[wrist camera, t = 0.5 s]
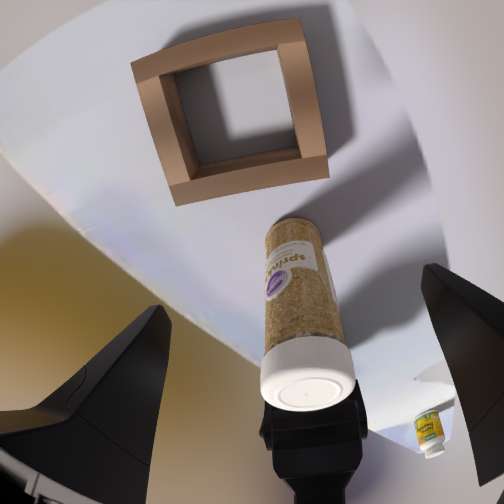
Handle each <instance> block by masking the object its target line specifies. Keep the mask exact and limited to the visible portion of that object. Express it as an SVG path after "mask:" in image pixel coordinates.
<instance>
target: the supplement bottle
mask: <svg viewBox="0 0 504 504" xmlns="http://www.w3.org/2000/svg"><path fill="white" fill-rule="evenodd" d="M414 425H415V429H416V433H417V437H418V441H419V446H420V449H421V450H424V451H426V452H425V457H426V459H428V458H432V457H435V456H437V455H439V454H441V453H443V452H444V451H445V449H444V446H443V445H442V443H443V442H444V440H445V435H444V432H443V428H442V425H441V421H440V418H439V415H438V411H437V410H435V409H432V410H428V411H425V412H423V413H421V414H419V415H418V416H417V417H416V418H415V419H414Z"/></svg>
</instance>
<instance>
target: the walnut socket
mask: <svg viewBox="0 0 504 504" xmlns="http://www.w3.org/2000/svg"><path fill="white" fill-rule="evenodd" d="M271 50H277V53H278V57H279V61H280V65H281V69H282V74H283V78H284V83H285V87H286V92H287V97H288V101H289V106H290V111H291V116H292V121H293V126H294V131H295V136H296V142H297V147H293V148H287V149H281V150H275V151H270V152H264V153H259V154H254V155H249V156H244V157H239V158H234V159H230V160H225V161H221V162H216V163H212V164H208V165H204V166H200V165H199V162H198V158H197V155H196V151H195V148H194V145H193V141H192V138H191V135H190V131H189V128H188V124H187V121H186V117H185V114H184V110H183V107H182V103H181V100H180V96H179V93H178V89H177V86H176V82H175V78H174V75H175V74H178V73H181V72H185V71H188V70H191V69H194V68H198V67H201V66H205V65H208V64H212V63H216V62H220V61H224V60H228V59H232V58H236V57H241V56H245V55H250V54H255V53H260V52H265V51H271ZM130 64H131V67H132V71H133V75H134V78H135V82H136V85H137V89H138V92H139V95H140V99H141V102H142V106H143V109H144V112H145V115H146V119H147V122H148V125H149V128H150V131H151V135H152V138H153V141H154V144H155V147H156V150H157V153H158V156H159V159H160V162H161V165H162V168H163V171H164V174H165V177H166V180H167V183H168V186H169V188H170V191H171V194H172V197H173V200H174V202H175V205H176V206H180V205H185V204H189V203H194V202H198V201H203V200H208V199H212V198H217V197H222V196H227V195H232V194H237V193H242V192H248V191H253V190H258V189H264V188H269V187H275V186H281V185H286V184H292V183H298V182H305V181H311V180H317V179H324V178H330V175H329V168H328V160H327V153H326V146H325V139H324V133H323V127H322V121H321V115H320V109H319V104H318V98H317V93H316V88H315V83H314V78H313V73H312V68H311V64H310V59H309V55H308V50H307V46H306V42H305V38H304V34H303V30H302V26H301V22H300V18H292V19H285V20H278V21H271V22H265V23H260V24H254V25H249V26H244V27H240V28H235V29H231V30H227V31H223V32H219V33H215V34H211V35H207V36H204V37H200V38H197V39H194V40H190V41H187V42H184V43H181V44H178V45H175V46H172V47H169V48H167V49H164V50H161V51H158V52H156V53H153V54H151V55H148V56H145V57H143V58H141V59H138V60H136V61H133V62H131V63H130Z"/></svg>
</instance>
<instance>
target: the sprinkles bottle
mask: <svg viewBox="0 0 504 504" xmlns="http://www.w3.org/2000/svg"><path fill="white" fill-rule="evenodd" d="M265 248H266V251H267V253H266V254H267V261H266V266H265V299H266V312H265V317H266V320H265V324H266V326H265V354H264V357H263V360H262V363H261V394H262V396H263V398H264V399H265V400H266V401H267V402H268V403H269V404H271V405H273V406H275V407H278V408H280V409H284V410H290V411H313V410H318V409H323V408H326V407H330V406H332V405H334V404H337V403H339V402H340V401H342V400H344V399H345V398H346V397H347V396H348V395H349V394H350V393H351V392H352V391H353V389H354V387H355V382H356V379H355V372H354V365H353V360H352V356H351V352H350V350H349V348H348V346H347V345H346V343H345V339H344V334H343V329H342V325H341V319H340V310H339V305H338V301H337V296H336V292H335V288H334V284H333V280H332V276H331V273H330V269H329V265H328V261H327V258H326V255H325V253H324V251H323V247H322V238H321V235H320V233H319V230H318V229H317V228H316V226H315V225H314V224H313V223H312V222H310V221H308V220H306V219H302V218H287V219H284V220H282V221H281V222H278V223H277V224H275V225H274V226H273V227H272V228H270V230H269V232H268V234H267V236H266V241H265Z"/></svg>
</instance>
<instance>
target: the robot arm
mask: <svg viewBox="0 0 504 504" xmlns="http://www.w3.org/2000/svg"><path fill="white" fill-rule="evenodd" d="M421 290H422V294H423V297H424V300H425V303H426V306H427V309H428V312H429V315H430V319H431V322H432V325H433V328H434V331H435V333H436V336H437V338H438V341H439V343H440V346H441V348H442V351H443V354H444V356H445V359H446V362H447V364H448V367H449V370H450V373H451V376H452V378H453V382H454V385H455V388H456V391H457V394H458V397H459V400H460V403H461V407H462V410H463V414H464V417H465V421H466V425H467V429H468V432H469V437H470V441H471V446H472V450H473V454H474V460H475V465H476V470H477V476H478V482H479V486H480V487H481V486H483V485H485V484H487V483H488V482H491V481H492V480H494V479H496V478H498V477H500V476H502V475H503V474H504V302H502V301H501V300H499V299H497V298H495V297H494V296H492V295H491V294H489V293H487V292H486V291H484V290H482V289H481V288H479V287H477V286H476V285H474V284H472V283H471V282H469V281H467V280H465V279H464V278H462V277H460V276H458V275H457V274H455V273H453V272H451V271H449V270H448V269H446V268H444V267H442V266H440V265H439V264H437V263H431V264H426V265H425V266H424V268H423V274H422V281H421ZM171 330H172V323H171V320H170V318H169V316H168V314H167V313H166V311H165V309H164V307H163V306H162V305H160V304H159V305H151V306H149V307H148V309H146V310H145V311H144V312H143V313H142V314H140V315H139V316H138V317H137V318H136V319H135V320H134V321H133V322H132V323H130V324H129V325H128V326H127V327H126V328H125V329H124V330H123V331H122V332H120V333H119V334H118V335H117V336H116V337H115V338H114V339H113V340H112V341H110V342H109V343H108V344H107V345H106V346H105V347H104V348H103V349H102V350H101V351H99V352H98V353H97V354H96V355H95V356H94V357H93V358H92V359H91V360H90V361H89V362H88V363H86V365H84V366H83V367H82V368H81V369H80V370H79V371H78V372H77V373H76V374H74V375H73V376H72V377H71V378H70V379H69V380H67V381H66V382H65V383H64V384H63V385H61V386H60V387H59V388H58V389H57V390H55V391H54V392H53V393H52V394H51V395H49V396H48V397H47V398H45V399H44V400H43V401H42V402H41V403H39V404H38V405H36V406H34V407H32V408H30V409H25V410H13V411H0V504H145V503H146V495H147V487H148V479H149V471H150V463H151V457H152V449H153V444H154V438H155V432H156V425H157V420H158V414H159V409H160V403H161V398H162V392H163V387H164V382H165V377H166V372H167V366H168V360H169V350H170V339H171ZM367 434H368V426H367V415H366V410H365V406H364V402H363V398H362V395H361V391H360V387H359V384H358V380H357V379H356V382H355V387H354V389H353V391H352V392H351V393H350V394H349V395H348V396H347V397H346V398H345V399H344V400H342V401H340V402H339V403H337V404H334V405H332V406H330V407H326V408H323V409H318V410H313V411H290V410H284V409H280V408H278V407H275V406H273V405H271V404H269V403H268V402H267V401H266V400H265V411H264V417H263V421H262V424H261V427H260V431H259V435H260V437H262V438H263V439H264V441H265V444H266V448H267V450H268V451H272V458H273V467H274V470H275V472H276V474H277V475H278V477H279V478H280V479H282V480H283V481H284V482H285V484H286V485H287V487H288V488H289V489H290V490H291V492H292V493H293V494H294V504H345V488H346V486H347V485H348V483H349V481H350V479H351V478H352V476H353V474H354V472H355V470H357V468H358V466H359V464H360V461H361V459H362V455H363V453H362V440H364V439H367ZM497 504H504V490H503V492H502V494H501V496H500V498H499V500H498V502H497Z"/></svg>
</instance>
